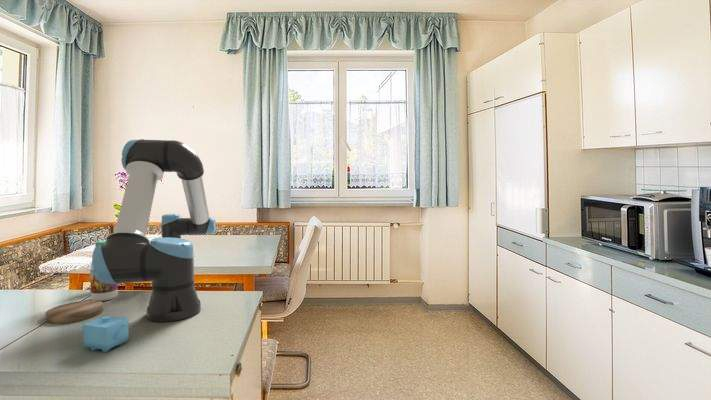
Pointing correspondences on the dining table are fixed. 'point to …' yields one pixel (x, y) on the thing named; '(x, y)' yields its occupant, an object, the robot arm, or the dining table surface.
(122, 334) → the light blue box
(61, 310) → the brown round coaster
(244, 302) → the dining table surface
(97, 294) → the milk bottle
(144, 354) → the dining table surface
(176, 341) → the dining table surface
